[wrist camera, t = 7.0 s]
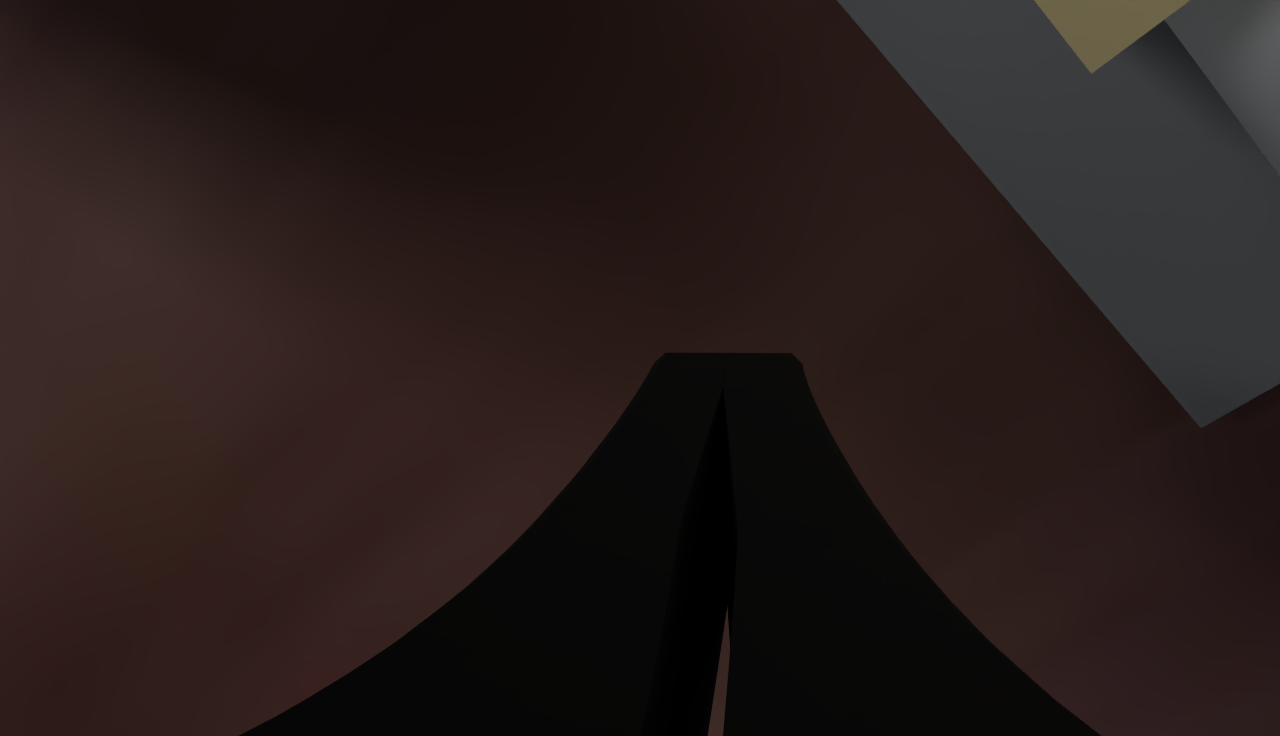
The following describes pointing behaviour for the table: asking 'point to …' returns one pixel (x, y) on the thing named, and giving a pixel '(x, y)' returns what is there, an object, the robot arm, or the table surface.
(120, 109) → the table surface
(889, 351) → the table surface
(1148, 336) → the valve on pipe
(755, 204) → the table surface
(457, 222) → the table surface
